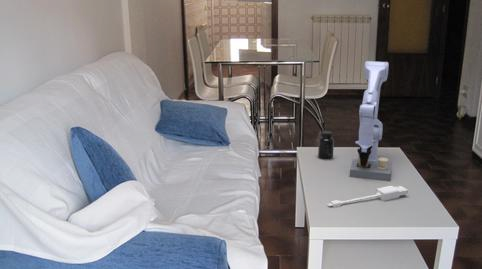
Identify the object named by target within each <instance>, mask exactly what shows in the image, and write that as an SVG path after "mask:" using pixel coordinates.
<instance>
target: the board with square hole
mask: <svg viewBox="0 0 482 269" xmlns="http://www.w3.org/2000/svg"><path fill="white" fill-rule="evenodd" d="M358 161H359V158H353V159H352V162H351V166H350V169H349V177H350V178H351V177H352V178H361V179H369V180H376V181H377V180H378V181H386V182H387V181H388V182H391V171H392V162H389V158H387V157H382V156H378V158H377V161H370V160H369V164H368V168H363V167H358Z"/></svg>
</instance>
